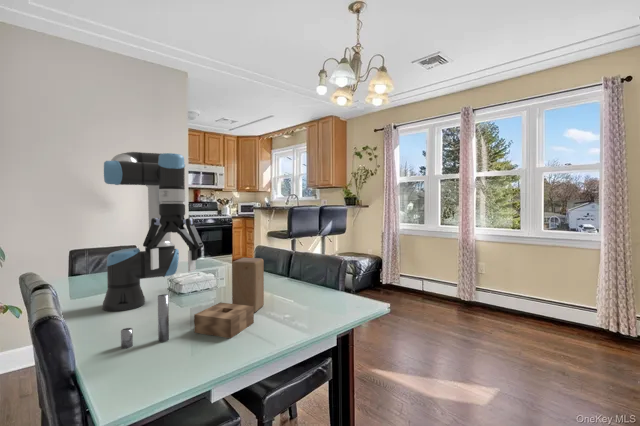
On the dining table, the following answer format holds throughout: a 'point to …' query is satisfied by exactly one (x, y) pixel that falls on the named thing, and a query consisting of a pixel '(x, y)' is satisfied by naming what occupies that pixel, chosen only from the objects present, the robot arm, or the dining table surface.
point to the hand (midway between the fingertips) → (173, 269)
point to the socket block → (224, 320)
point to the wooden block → (248, 282)
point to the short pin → (126, 338)
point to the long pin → (163, 318)
